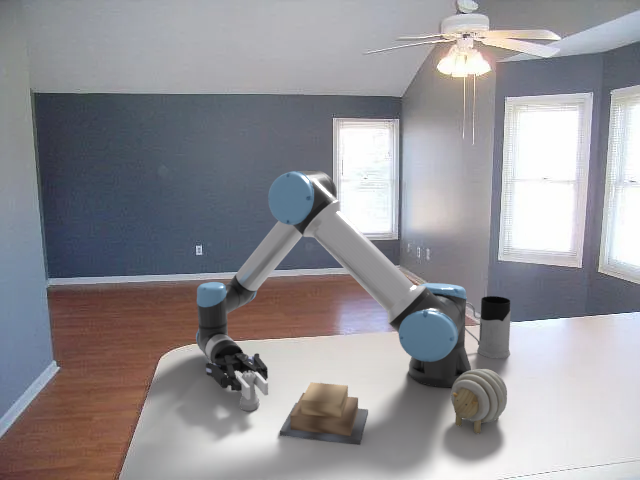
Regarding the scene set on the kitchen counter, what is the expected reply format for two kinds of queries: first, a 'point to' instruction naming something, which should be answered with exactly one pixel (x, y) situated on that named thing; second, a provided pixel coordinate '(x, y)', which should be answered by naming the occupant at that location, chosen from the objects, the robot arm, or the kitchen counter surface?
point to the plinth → (326, 415)
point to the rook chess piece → (254, 400)
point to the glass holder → (493, 327)
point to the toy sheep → (478, 397)
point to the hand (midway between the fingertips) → (257, 391)
